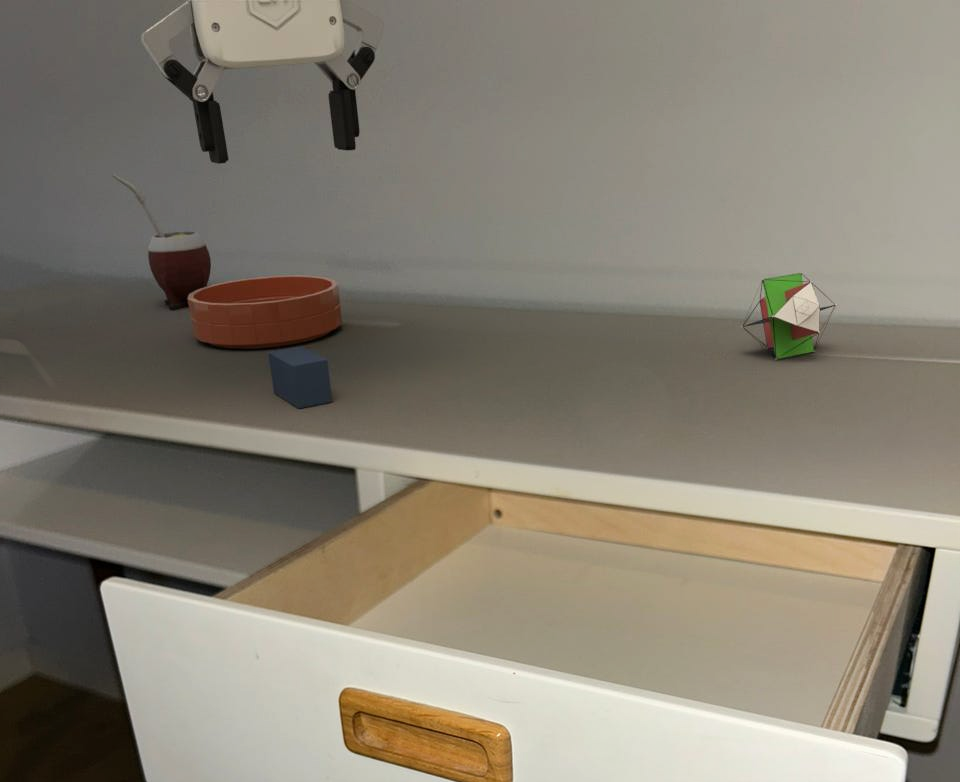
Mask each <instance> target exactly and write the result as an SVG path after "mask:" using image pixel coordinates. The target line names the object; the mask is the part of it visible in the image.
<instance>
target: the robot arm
mask: <svg viewBox="0 0 960 782" xmlns="http://www.w3.org/2000/svg"><path fill="white" fill-rule="evenodd" d="M344 24H345V25H347V26H349V27H351V28H353V29H354V30H355V31H356V32H357V35H358V37H357V41H356V46H355V49H353V51H352V52H351V54H350V56H349V57H348V59H346V58H345V57H344V56H343V54H342V53H343V52H344V50H345V43H346V39H345V38H346V37H345V27H344ZM384 26H385V24H384V21H383V19H382V18H380V17H379V16H377V15H376V14H373V13H372V12H369V11H368V10H366V9H364V8H362V7H360V6H359V5H357V4H355V3H353V2H351V1H350V0H186V1H185V2H183V3H182V4H180V5H179V6H178V7H177V8H175V9H174V10H172V11H171V12H170V13H168V14H167V15H166V16H164V17H163V18H161V19H160V20H158V21H157V22H156V23H154V24H153V25H152V26H150V27H149V28H148V29H146V30H145V31H143V32H142V34H141V36H140V41H141V44H142V46H143V47H144V48H145V50H146V52H147V53H148V54H149V56H150V57H151V59H152V60H153V62H154V63H155V65H157V67H158V69H159V70H160V72H161V74H162V76H163V77H164V78H165V79H166V80H167V81H168V82H170V83H171V84H172V85H173V86H174V87H175V88H176V89H177V90H179V92H181V93H182V94H183V95H184V96H185V97H186V98H187V99H188V101H190V102H192V107H193V111H194V118H195V123H196V129H197V135H198V141H199V146H200V149H201V152H202V153H207V152H208V155H209V156H208V157H209V161H210V162H211V163H214V164H218V165H220V164H226V163H227V161H228V162H229V153H228V148H227V141H226V136H225V129H224V123H223V117H222V110H221V105H220V103H219V102H217V100H215V97H214V92H213V91H214V90H215V88H216V86H217V85H218V83H219V81H220V79H221V77H222V75H223V74H224V72H225V70H236V69H252V68H253V69H254V68H265V67H267V68H268V67H279V66H293V65H303V64H314V65H316V66H317V67H318V69H319V70H320V71H321V72H322V73H323V75H324V76H326V78H327V79H328V80H329V82H331V84H332V85H331V86H332V90H330V91H329V93H328V95H327V97H328V105H329V114H330V121H331V129H332V138H333V139H332V140H333V146H334V148H335V149H337V150H339V151H340V150H341V151H348V152H349V151H355V150H356V148H357V145H356V138H358V137H360V130H361V129H360V122H359V113H358V112H359V111H358V104H357V93H356V90H357V89H359V87H360V85H361V81H362V79H363V78H364V77H365V75H366V74H367V73H368V71H369V69H370V68H371V66H372V65H373V63H374V62H375V60H376V59H375V58H376V52H377V50H378V47H379V44H380V41H381V38H382V34H383V33H384V32H383V31H384V28H385V27H384ZM187 28H189V30H190V37H191V41H192V45H193V50H194V55H195V57H196V59H197V61H198V64H197V66H196V68H195V70H194V72H193V73H192V72H191V71H190V70H189V69H188V68H186V67H185V66H184V65H183V64H182V63H181V62H180V61H179V60H178V59H177V57H175V55H174V52H173V51H172V49H171V46H170V43H171V41H172V40H173V39H174V38H175V37H177V36H178V35H179V34H181V33H182V32H183V31H185V30H187Z"/></svg>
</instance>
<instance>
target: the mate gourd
mask: <svg viewBox="0 0 960 782" xmlns="http://www.w3.org/2000/svg"><path fill="white" fill-rule="evenodd" d="M111 177H112V178H114V179H115V180H116V181H118V182H119V183H121V184H122V185H124V186H125V187H127V188H128V189H129V190H130V191H131V192H132V193H133V194H134V197H135V198H136V199H137V201H138V204H139V203H140V204H141V206H142V208H143V210H144V211H145V214H146V216H147V217H148V219H149V221H150V223H151V225H152V226H153V229H154V230H155V232H156V234H155V235H153V236H152V237H151V239H150V242H149V244H148V247H147V251H148V252H147V256H148V257H147V260H148V264H149V268H150V270H151V271H150V272H151V273H152V276H153V278H154V280H155V281H156V283H157V285H158V287H160V289H161V290H162V291H163V292H164V295H165V297H166V299H164V303H165V305H166V306H167V307H168V309H169V311H175V310H179V309H182V308H185V307H189V305H188V299H187V298H188V295H189V294H190V293H192V292H194V291H196V290H198V289H201V288H204V287H207V286H208V284H209V281H210V276H211V267H212V261H211V255H210V251H209V249H208V246H207V243H206V242H205V240H204V238H203V237H202V236H201V235H200V234H199V233H198V232H197V231H193V230H192V231H189V230H188V231H170V232H163V231H162V229H161V228H160V226H159V224H158V222H157V220H156V218H155V216H154V215H153V213H152V211H151V210H150V207H149V205H148V204H147V202H146V198H145V195H143V193H142V192H141V191H139V190H138V188H137V187H136V186H134V185H133V183H130V182H129V181H127V180H125V179H123V178H122V177H119V176H117V175H115V174H114V173H111Z"/></svg>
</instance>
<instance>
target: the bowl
mask: <svg viewBox="0 0 960 782" xmlns="http://www.w3.org/2000/svg"><path fill="white" fill-rule="evenodd" d="M339 289H340V288H339V284H338V282H337V280H335V279H333V278H329V277H325V276H324V277H323V276H318V275H317V276H316V275H274V276H273V275H272V276H263V277H252V278H251V277H250V278H243V279H238V280H230V281H225V282H221V283H215V284H210V285H207V287H204V288H201V289H198V290H196V291H194V292H192V293H190V294H189V295H188V298H187V299H188V305H189V306H188V310H189V316H190V320H191V321H190V322H191V327H192V332H193V337H194V338H195V339H197V340H198V341H199V342H202V343H207V344H209V345H211V346H214V347H219V348H223V349H236V350H250V349H251V350H253V349H254V350H255V349H269V348H276V347H277V348H279V347H285V346H291V345H292V346H293V345H297V344H302V343H307V342H310V341H314V340H316V339H319V338H322V337H324V336H326V335H329V334H330V333H331V332H332V331H334V330H336V329H338V328H339V327H340V326H341V325H342V324H343V315H342V308H341V307H342V306H341V300H340V299H341V298H340V290H339Z"/></svg>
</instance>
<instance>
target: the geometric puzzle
mask: <svg viewBox="0 0 960 782" xmlns="http://www.w3.org/2000/svg"><path fill="white" fill-rule="evenodd" d="M803 277H804V278H805V279H807V280H806V281H804V280H803ZM814 287H815V288H816V289H817V290H818V291H820V293H821V294H823V296H825V297H826V298H827V299H828V300H829V301H830V302H832V299H830V297H828V296H827V295H826V294H825V293H824V292H823V291H821V290H820V289H819V287H817V286H816V285H815V284H814V283H813V281H812V280H810V279H809V278H807V276H806V275H805V274H803V272H802V271H800V272H799V273H792V274H787V275H780V276H774V277H769V278H763V277H762V278H761V283H760V284H759V287H758V288H760V294H759V300H758V302H757V304H756V305H755V307H754V308H753V309H752V311H751V312H750V311H748V312H747V314H746V316H747V318H745V320H744V322H743V324H742V325H741V326H740V328H742V329H743V330H745V331H746V332H747V333H748V334H749V335H750V336H751V337H753V339H754V340H755V341H756V342H758V344H759V345H760V346H761V347H763V346H765V347H766V349H768V352H769V353H770V354H771V356H772V357H773V358H774V360H775V361H777V360H780V359H784V358H790V357H795V356H800V355H805V354H810V353H813V352H815V353H816V348H817V347H818V345H817V344H818V343H819V342H820V340H821V338H822V335H823V334H824V331H825V330H823V331H822V329H823V327H824V325H825V324H826V325H825V327H824V328H827V325H828V323H829V321H830V319H831V317H832V313H833V312H834V310H835V308H836V307H837V305H838V304H837V303H834V304H833V305H829V306H823V307H821V305H820V302H819V299H818V296H817V293H816V291H815V288H814ZM762 289H763V290H762ZM762 291H764V297H763V298H762ZM758 292H759V290H756V293H755V295H757V294H758ZM755 298H756V297H754V298H753V301H752V302H754V301H755ZM752 305H753V304H750V307H749V309H751V308H752ZM758 305H759V306H760V312H761V318H762V319H760V320H756V321H754V322H751V323H748V324H746V323H747V321H748V320H749V319H750V317H751V316H752V314H753V312H754V311H755V310H756V308H757V307H758ZM832 307H833V308H832ZM830 308H832V310H831V312H830V314H829V315H828V317H827V318H826V319H825V322H824V323H823V326H822V327H821V328H820V325H821V323H820V321H821V319H820V318H821V311H824V310H826V309H830ZM749 312H750V314H749ZM761 324H762V325H763V329H764V330H763V331H764V336H765V343H766V344H764V342H762V341H761V340H759V339H758V338H757V337H756V336H755V335H753V334H752V333H751V332H750V331H749V330H747V329H746V327H749V326H756V325H761ZM821 331H822V333H821ZM820 333H821V336H820V337H819V335H820ZM815 336H817V338H816V341H815V345H814V343H813V338H814V337H815ZM771 349H772V350H773V349H774V350H773V351H774V354H773V352H772V350H771Z"/></svg>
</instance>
